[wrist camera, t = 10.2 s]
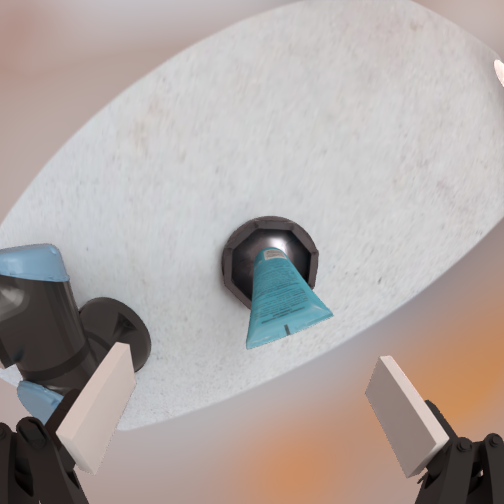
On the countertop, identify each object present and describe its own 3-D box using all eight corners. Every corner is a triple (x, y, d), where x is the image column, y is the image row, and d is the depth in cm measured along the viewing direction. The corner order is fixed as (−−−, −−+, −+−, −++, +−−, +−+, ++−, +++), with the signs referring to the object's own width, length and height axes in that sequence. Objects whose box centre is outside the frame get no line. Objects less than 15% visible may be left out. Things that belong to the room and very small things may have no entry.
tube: (256, 288, 40) (260, 370, 22) (240, 260, 39) (232, 328, 21) (301, 265, 40) (341, 333, 21) (287, 236, 39) (320, 285, 20)
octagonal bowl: (221, 304, 42) (220, 311, 40) (223, 213, 38) (222, 215, 36) (311, 307, 42) (313, 314, 40) (321, 219, 39) (325, 221, 37)
